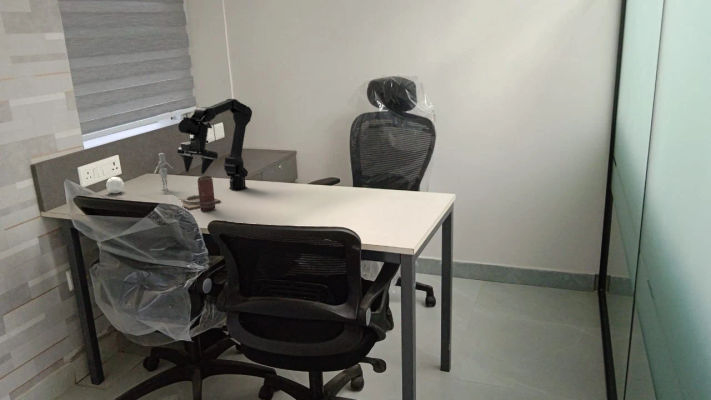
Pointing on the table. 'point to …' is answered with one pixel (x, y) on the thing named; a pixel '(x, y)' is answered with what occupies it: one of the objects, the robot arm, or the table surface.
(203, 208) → the can
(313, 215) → the table surface
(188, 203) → the cup holder
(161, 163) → the human figurine
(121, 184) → the geometric ball
